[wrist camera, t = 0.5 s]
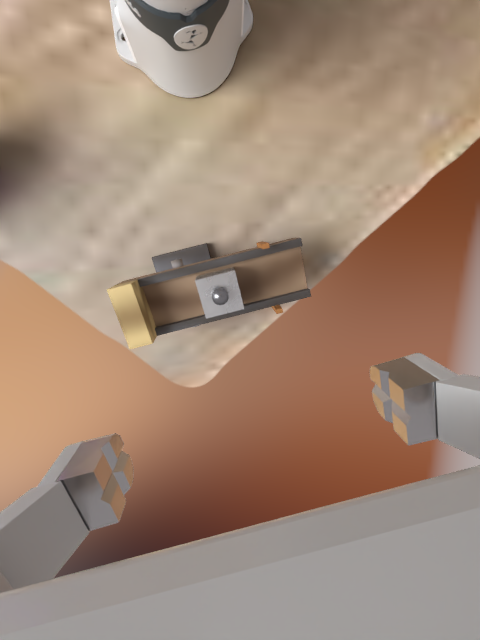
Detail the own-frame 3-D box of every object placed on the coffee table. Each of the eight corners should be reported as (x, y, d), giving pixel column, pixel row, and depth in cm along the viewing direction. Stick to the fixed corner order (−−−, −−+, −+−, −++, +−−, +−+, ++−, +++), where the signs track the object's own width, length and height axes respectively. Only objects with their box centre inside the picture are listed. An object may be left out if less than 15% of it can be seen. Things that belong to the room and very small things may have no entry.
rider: (196, 275, 39) (194, 282, 34) (233, 266, 39) (235, 271, 34) (206, 310, 41) (205, 321, 36) (241, 301, 41) (245, 311, 36)
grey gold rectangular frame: (132, 262, 48) (100, 273, 34) (280, 224, 48) (305, 221, 34) (156, 329, 51) (135, 363, 38) (293, 294, 51) (320, 315, 38)
